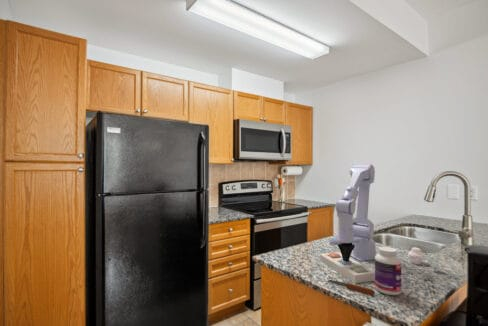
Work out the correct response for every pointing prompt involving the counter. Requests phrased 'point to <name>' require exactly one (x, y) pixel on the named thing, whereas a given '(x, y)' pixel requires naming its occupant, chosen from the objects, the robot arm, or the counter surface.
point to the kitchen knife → (354, 287)
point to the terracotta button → (334, 255)
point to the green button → (358, 269)
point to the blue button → (346, 262)
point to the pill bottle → (388, 271)
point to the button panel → (348, 269)
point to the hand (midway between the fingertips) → (345, 261)
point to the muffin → (416, 255)
